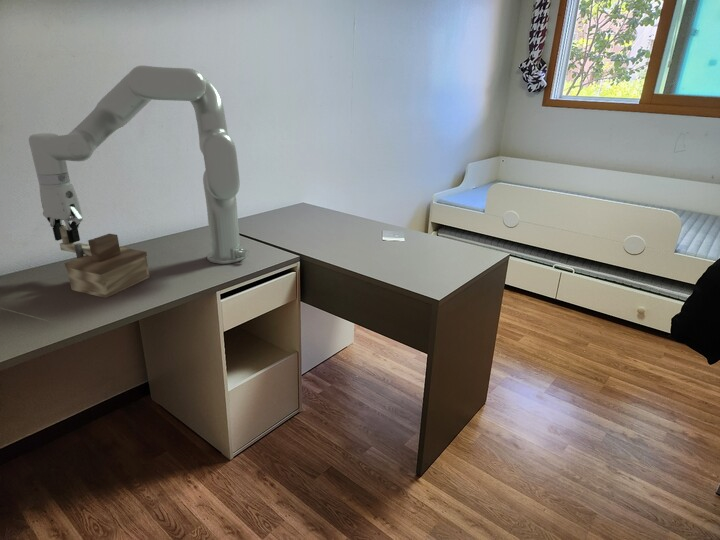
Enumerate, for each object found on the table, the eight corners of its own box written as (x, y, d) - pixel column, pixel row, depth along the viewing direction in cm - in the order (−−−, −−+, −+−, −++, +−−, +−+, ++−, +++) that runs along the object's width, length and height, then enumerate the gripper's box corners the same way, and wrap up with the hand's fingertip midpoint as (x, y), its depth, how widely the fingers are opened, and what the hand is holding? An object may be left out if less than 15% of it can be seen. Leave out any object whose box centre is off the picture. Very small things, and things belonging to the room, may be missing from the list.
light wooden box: (149, 277, 143) (143, 241, 138) (106, 298, 129) (98, 258, 124) (112, 269, 148) (105, 234, 143) (66, 288, 134) (57, 250, 129)
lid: (147, 258, 141) (143, 232, 137) (101, 278, 126) (95, 249, 123) (114, 252, 145) (109, 226, 142) (66, 270, 131) (59, 242, 128)
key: (101, 253, 137) (97, 230, 134) (93, 256, 135) (88, 233, 132) (69, 247, 141) (64, 224, 139) (61, 250, 139) (55, 227, 136)
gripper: (87, 179, 132) (100, 240, 139) (45, 174, 138) (58, 233, 145) (63, 184, 126) (77, 248, 132) (19, 178, 131) (35, 240, 138)
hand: (67, 239), depth 138 cm, fingers open, 4 cm apart
